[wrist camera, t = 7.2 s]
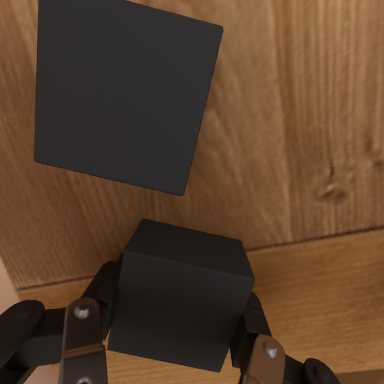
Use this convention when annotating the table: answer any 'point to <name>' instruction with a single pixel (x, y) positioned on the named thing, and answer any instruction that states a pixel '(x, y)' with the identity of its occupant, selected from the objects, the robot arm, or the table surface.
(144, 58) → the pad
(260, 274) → the table surface
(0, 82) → the table surface
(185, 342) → the black block in front
